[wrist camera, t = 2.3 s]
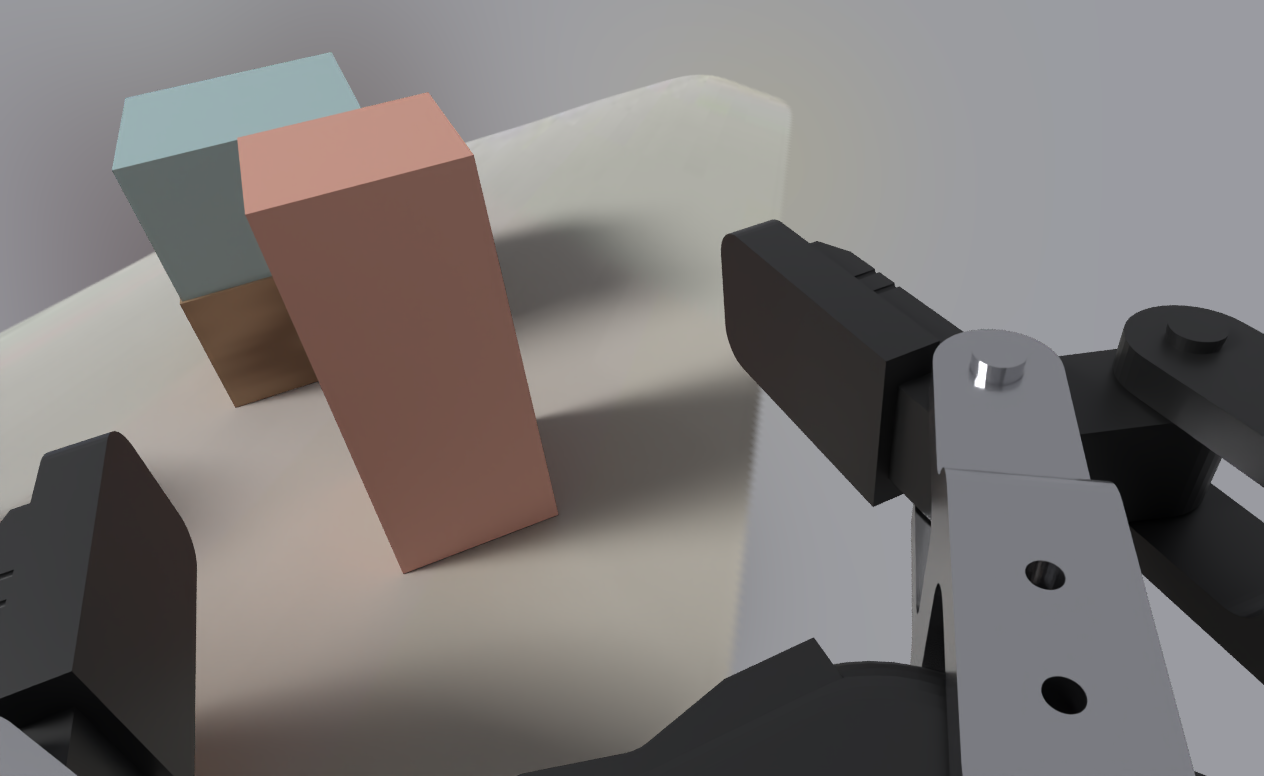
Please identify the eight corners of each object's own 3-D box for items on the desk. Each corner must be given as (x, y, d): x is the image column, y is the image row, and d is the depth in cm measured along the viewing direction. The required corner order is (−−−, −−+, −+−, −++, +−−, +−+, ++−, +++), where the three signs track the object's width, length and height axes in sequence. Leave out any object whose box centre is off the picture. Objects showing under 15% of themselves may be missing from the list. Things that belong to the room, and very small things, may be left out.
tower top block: (182, 301, 29) (112, 170, 26) (182, 213, 35) (125, 97, 32) (402, 238, 31) (361, 109, 28) (368, 165, 37) (331, 52, 34)
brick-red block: (403, 574, 25) (244, 214, 17) (377, 470, 29) (237, 137, 21) (558, 514, 26) (473, 155, 19) (513, 423, 30) (428, 92, 22)
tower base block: (236, 410, 32) (179, 304, 29) (229, 312, 38) (181, 215, 35) (434, 346, 34) (401, 241, 31) (398, 263, 40) (367, 167, 37)
